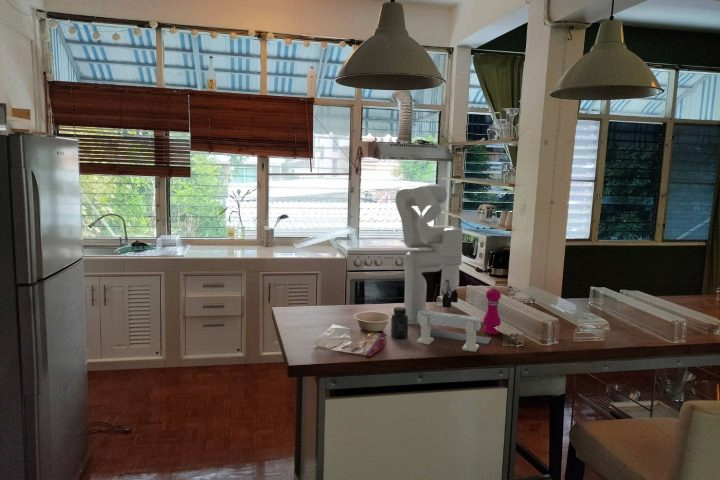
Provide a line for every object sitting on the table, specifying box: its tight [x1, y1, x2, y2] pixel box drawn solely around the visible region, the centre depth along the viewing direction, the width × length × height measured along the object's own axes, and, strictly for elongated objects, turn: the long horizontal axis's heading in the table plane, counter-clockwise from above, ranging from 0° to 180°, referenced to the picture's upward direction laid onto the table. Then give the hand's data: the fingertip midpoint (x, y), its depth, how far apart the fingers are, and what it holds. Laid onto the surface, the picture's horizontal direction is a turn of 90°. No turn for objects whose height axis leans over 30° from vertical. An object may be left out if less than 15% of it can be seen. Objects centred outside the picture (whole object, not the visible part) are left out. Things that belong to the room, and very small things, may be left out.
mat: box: [418, 328, 493, 346], centre depth 221 cm, size 28×8×1 cm, turn 66°
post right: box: [461, 322, 480, 353], centre depth 207 cm, size 5×7×11 cm
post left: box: [416, 316, 435, 345], centre depth 214 cm, size 5×7×11 cm
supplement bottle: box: [390, 306, 409, 341], centre depth 219 cm, size 7×7×12 cm
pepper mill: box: [482, 284, 502, 335], centre depth 228 cm, size 7×7×20 cm
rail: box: [417, 309, 482, 332], centre depth 210 cm, size 24×4×4 cm, turn 66°
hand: (450, 304), depth 209 cm, fingers open, 9 cm apart
